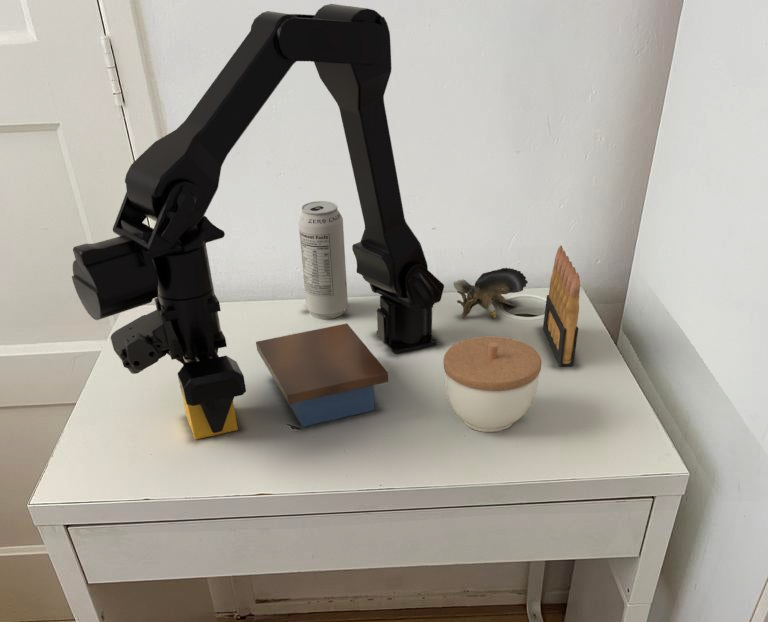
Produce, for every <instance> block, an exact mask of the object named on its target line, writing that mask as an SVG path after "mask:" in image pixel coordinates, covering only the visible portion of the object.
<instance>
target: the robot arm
mask: <svg viewBox="0 0 768 622" xmlns="http://www.w3.org/2000/svg"><path fill="white" fill-rule="evenodd" d="M251 23H252V24H251V26H250V31H249V32H248V33H247V34H246V36H245V37H244V39H243V40H242V41H241V43H240V44H239V46H238V47H237V48H236V50H235V52H234V53H233V54H232V56H231V57H230V58H229V60H228V61H227V62H226V64H225V65H224V66H223V68H222V69H221V70H220V72H219V73H218V75H217V76H216V78H215V79H214V80H213V82H212V83H211V85H210V86H209V87H208V89H207V90H206V91H205V92H204V94H203V95H202V97H201V98H200V99H199V101H198V102H197V104H196V105H195V107H194V108H193V109H192V110H191V111H190V113H189V115H187V117H186V119H185V120H184V121H183V122H182V123H181V124H180V125H179V126H178V127H177V128H176V129H175V130H173V131H171V132H170V133H168V134H166V135H164V136H162V137H161V138H159V139H157V140H155V141H154V142H153V143H152V144H151V145H150V146H149V147H148V148H147V149H146V150H145V151H144V152H143V153H142V154H140V155H139V156H138V157H137V158H136V159H135V160H134V161H133V162H132V163H131V165H130V166H129V167H128V169H127V172H126V173H125V178H124V184H125V188H126V192H125V194H124V198H123V200H122V203H121V205H120V208H119V210H118V213H117V216H116V218H115V222H114V224H113V226H112V232H113V234H116V235H117V236H115V237H113V238H110V239H105V240H102V241H99V242H94V243H83V244H80V245H76V246H73V248H72V252H73V255H74V260H73V262H72V274H73V275H72V276H71V279H72V280H71V281H72V283H73V286H74V289H75V292H76V294H77V297H78V298H79V301H80V303H81V304H82V306H83V308H84V310H85V311H86V313H87V314H88V315H89V316H90V318H92V319H93V320H94V321H99V320H102V319H106V318H109V317H111V316H114V315H117V314H121V313H124V312H127V311H129V310H133V309H136V308H139V307H141V306H142V307H143V306H145V305H148V304H150V303H152V302H153V299H154V304H155V308H156V309H155V310H152V311H151V312H149V313H147V314H144V315H141V316H139V317H138V318H135V319H134V320H132V321H130V322H128V323H126V324H125V325H123V326H121V327H120V328H118V329H116V330H115V331H114V332H112V334H111V335H110V341H111V345H112V348H113V351H114V353H115V354H116V355H117V356H118V358H119V359H120V360H121V363H122V366H123V368H125V369H127V370H128V371H129V373H130V374H133V375H135V374H136V375H137V374H139V373H141V372H143V371H144V370H145V369H148V368H149V367H151V366H153V365H154V364H156V363H158V362H159V360H160V359H162V358H163V357H165V356H166V355H167V356H169V357H170V359H171V361H173V360H176V361H177V362H178V363H181V364H182V365H183V366H181V368H180V369H179V371H178V372H177V378H178V384H179V383H180V384H179V388H181V389H180V391H181V390H182V393H183V396H184V399H185V401H186V404H187V405H191V406H195V405H200V406H201V408H202V410H203V412H204V415H205V417H206V419H207V421H208V423H209V426H210V428H211V430H212V432H213V433H217V432H221V431H222V430H223V427H224V424H225V421H226V418H227V415H228V412H229V409H230V407H231V404H232V401H233V402H234V399H235V398H236V397H241V396H243V395H245V393H246V392H247V387H246V381H245V376H244V374H243V372H242V370H241V368H240V366H239V364H238V362H237V361H236V360H234V359H233V358H231V357H230V356H228V355H222V356H219V355H218V354H219V349H222V348H223V349H224V348H226V347H227V346H228V345H227V340H226V337H225V335H224V332H223V331H222V329H221V323H220V316H219V312H221V305H220V300H219V299H218V296H217V295H216V293H215V288H214V283H213V282H214V281H213V277H212V271H211V266H210V259H209V253H208V248H207V244H208V243H210V242H214V241H217V240H220V239H223V238H224V237H225V236H226V233H225V231H224V230H223V229H221V228H219V227H217V226H216V225H215V224H214V223H212V222H211V221H210V219H208V217H207V216H206V215H205V214H206V213H207V211H208V209H209V207H210V205H211V203H212V201H213V199H214V197H215V195H216V193H217V191H218V189H219V184H220V178H221V173H222V167H223V164H224V163H225V161H226V158H227V157H228V155H229V153H230V152H231V151H232V149H233V148H234V147H235V146H236V144H237V143H238V141H239V140H240V139H241V137H242V136H243V134H244V133H245V132H246V130H247V129H248V127H249V126H250V125H251V123H252V122H253V120H254V119H255V117H256V116H257V115H258V114H259V112H261V111H260V110H262V108H263V107H264V106H265V104H266V102H267V101H268V100H269V99H270V97H271V96H272V94H273V93H274V92H275V90H276V89H277V88H278V86H279V85H280V84H281V82H282V81H283V79H284V78H285V76H286V75H287V74H288V73H289V71H290V70H291V68H292V67H293V66H294V65H295V64H296V63H297V62H310V63H311V62H313V64H314V66H315V68H316V72H317V74H318V77H319V78H320V80H321V82H322V83H323V85H324V86H325V88H326V89H327V91H328V92H329V94H330V95H331V97H332V99H334V101H335V103H336V104H337V107H338V109H339V113H340V118H341V122H342V127H343V132H344V136H345V140H346V141H345V142H346V145H347V151H348V154H349V159H350V165H351V169H352V173H353V177H354V182H355V187H356V192H357V194H358V195H357V196H358V201H359V205H360V209H361V214H362V218H363V223H364V230H363V233H362V236H361V239H360V241H359V242H356V243H353V245H352V247H351V249H352V252H353V255H354V257H355V260H356V273H357V274H359V275H361V276H362V278H363V280H364V281H365V282H367V283H368V284H369V286H370V289H371V292H373V293H375V294H378V295H379V306H380V307H378V308H377V309H376V324H377V325H376V326H377V327H376V328H377V329H376V335H377V337H378V338H379V340H381V342H382V344H384V345H385V346H386V347H387V348H388V349H389V351H391V352H392V353H393V354H398V353H402V352H407V351H412V350H418V349H421V348H426V347H431V346H435V345H437V344H438V340H437V338H436V337H435V336H433V308H434V305H435V304H437V303H439V302H441V300H442V297H443V292H444V289H445V284H444V283H443V282H441V280H440V279H438V278H437V277H436V276H435V274H433V273H432V272H431V271H430V270H429V265H428V261H427V258H426V256H425V252H424V250H423V247H422V246H423V245H422V244H421V242H420V240H419V239H418V238H417V236H416V235H415V233H414V232H413V230H412V228H411V227H410V225H409V224H408V223H407V221H406V218H405V212H404V207H403V206H404V205H403V200H402V195H401V191H400V183H399V178H398V172H397V167H396V161H395V156H394V155H395V154H394V150H393V144H392V139H391V133H390V127H389V122H388V116H387V111H386V106H385V105H386V104H385V94H386V89H387V87H388V84H389V80H390V77H391V74H392V70H393V69H392V68H393V67H392V46H391V44H392V43H391V32H390V28H389V25H388V22H387V20H386V18H385V17H384V16H382V15H381V13H379V12H377V11H376V9H373V8H366V7H359V6H351V5H344V4H343V5H342V4H336V3H329V4H325V5H323V6H322V7H320V8H319V9H318V10H317V11H316V13H315V14H305V13H304V14H302V13H283V12H276V11H270V10H266V11H264V12H261V13H260V14H259V15H257V16H256V17H255V18H254V20H253V22H251ZM147 218H148V219H150V220H152V221H154V222H155V224H154V227H151V226H150V225H148V224H145V223H143V222H145V220H146V219H147ZM182 393H181V394H182Z"/></svg>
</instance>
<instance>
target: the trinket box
mask: <svg viewBox="0 0 768 622" xmlns="http://www.w3.org/2000/svg"><path fill="white" fill-rule="evenodd" d="M442 363H443V370H444V371H443V373H444V374H443V375H444V377H443V378H444V380H443V381H444V388H445V395H446V398H447V401H448V403H449V406H450V408H451V409H452V411H453V412H454V414H455V415H456V416H457V417H458V418H460V419H461V420H462V422H463V423H464V425H465V426H467V427H469V428H470V429H472V430H475V431H478V432H483V433H497V432H501V431H502V432H503V431H505V430H507V429H509V428H510V427H512V426H513V425H514V423H516V422H517V421H518V420H520V419H521V418H522V417H524V415H525V414H526V413H527V412H528V410H529V409H530V407H531V405H532V404H533V401H534V399H535V395H536V392H537V390H538V385H539V379H540V373H541V371H542V358H541V356H540V353H538V351H537V350H536V349H535V348H534V347H533V346H531V345H529V344H527V343H525V342H522V341H520V340H518V339H514V338H508V337H502V336H478V337H470V338H467V339H464V340H461V341H458V342H456V343H455V344H453V345H451V346H450V347H449V348H448V349H447V350H446V351H445V353H444V355H443V362H442Z"/></svg>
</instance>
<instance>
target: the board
mask: <svg viewBox="0 0 768 622" xmlns="http://www.w3.org/2000/svg"><path fill="white" fill-rule="evenodd" d="M255 346H256V351H257V352H258V353H257V354H259V356H260V358H261V359H262V361H263V363H264V365H265V367H266V368H267V370H268V371H269V373H270V375H271V376H272V378H273V380H274V382H275V383H276V385H277V387H278V389H279V390H280V392H281V393H282V395H283V397H284V399H285V401H286V403H287V404H288V405H289V404H293V403H297V402H301V401H306V400H310V399H315V398H319V397H323V396H328V395H332V394H337V393H341V392H345V391H350V390H354V389H359V388H363V387H368V386H372V385H373V386H375V385H381V384H384V383H389V372H388V371H387V370H386V368H385V367H384V366H383V364H381V362H380V361H379V360H378V359H377V358H376V356H375V355H374V354H373V352H372V351H371V350H370V349H369V348H368V346H367V345H366V344H365V343H364V342H363V340H362V339H361V338H360V337H359V336H358V334H357V333H356V332H355V331H354V330H353V328H351V326H350V325H349V324H348V323H342V324H337V325H332V326H327V327H322V328H316V329H312V330H306V331H302V332H296V333H292V334H287V335H282V336H277V337H273V338H268V339H263V340H262V339H261V340H258V341H255Z"/></svg>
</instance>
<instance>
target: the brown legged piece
mask: <svg viewBox="0 0 768 622" xmlns="http://www.w3.org/2000/svg"><path fill="white" fill-rule="evenodd" d="M528 283H529V281H528V280H527V277H526V275H524V273H523V272H522V271H521V270H517V269H514V268H511V267H509V268H508V267H502V268H498V269H495V270H490V271H486V272H483V273H482V274H480V276H479V277H478V278H477V279H476V281H475V282H474V285H473V284H470V283H469V282H468V281H467V280H466V279H462V278H461V279H457V280H454V281H453V287H454V289H455V290H456V293H457V294H459V295H460V296H461V298H462V300H459V299H458V300H456V303H457V304H460V305H461V306H462V307H463V309H462V315H461V316H462V318H466V317H467V316H468V314H470V313H471V311H472V309H473V308H474V307H475V306H476V305H479V306H480V307H482V308H483V309H485V310H486V311H488V313H489V314H491V315H492V318H493V319H496V317H497V310H496V308H495V306H494V304H493V302H498V303H503V304H506V305H509V306H511V307H514V306H515V302H512V300H508V299H506V298H505V297H504V296H503V295H508V294H515V293H520V292H522V291H524V288H525V287H527V284H528ZM492 301H493V302H492Z"/></svg>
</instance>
